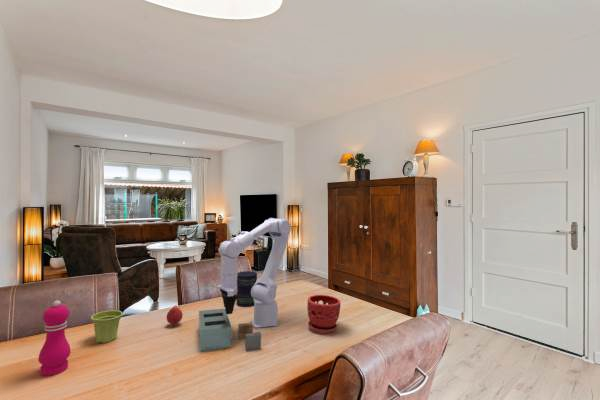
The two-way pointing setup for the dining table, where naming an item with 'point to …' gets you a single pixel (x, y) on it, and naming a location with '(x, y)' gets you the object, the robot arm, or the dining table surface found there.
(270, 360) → the dining table surface
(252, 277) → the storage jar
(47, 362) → the pepper mill
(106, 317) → the plant pot
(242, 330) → the block
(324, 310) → the plant pot
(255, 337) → the grey tall block
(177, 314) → the onion
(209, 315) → the toaster
